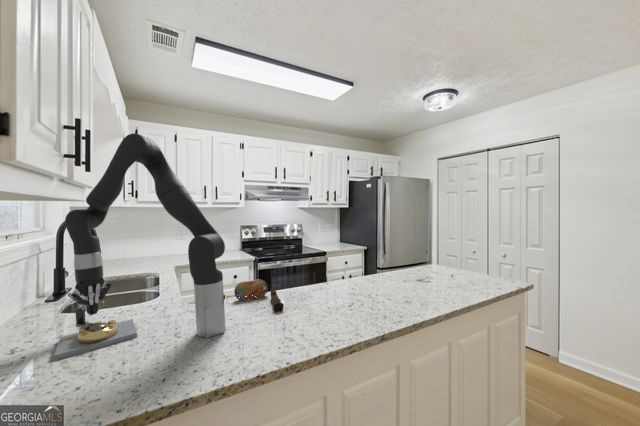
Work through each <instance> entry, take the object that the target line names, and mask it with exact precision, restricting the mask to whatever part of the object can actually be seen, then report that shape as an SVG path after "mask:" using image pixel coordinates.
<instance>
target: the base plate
mask: <svg viewBox="0 0 640 426" xmlns="http://www.w3.org/2000/svg"><path fill="white" fill-rule="evenodd" d="M116 323H117V333H116V334H115V335H114V336H112V337H110V338H108V339H105V340H102V341H99V342H95V343H90V344H80V343H79V342H78V333H79V331H78V332H74V333H70V334H65V335H63V336H60V337H59V339H58V343H57V346H56V348H55V352H54V355H53V361H58V360H63V359H66V358H69V357H72V356H76V355H80V354H84V353H87V352H90V351H94V350H97V349H101V348H104V347H108V346H110V345H111V346H112V345H115V344H118V343H122V342H125V341H128V340H133V339H136V338H138V331H137V329H136V326H135V323H134V320H133V319H127V320H122V321H120V322H119V321H118V322H116Z"/></svg>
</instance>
